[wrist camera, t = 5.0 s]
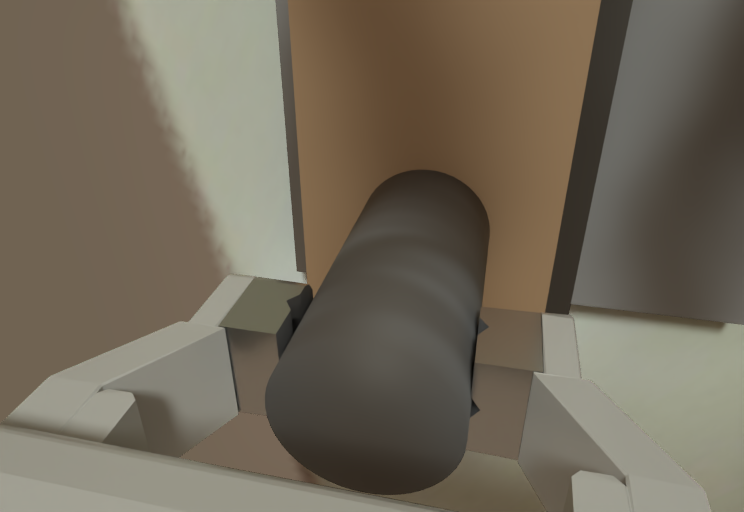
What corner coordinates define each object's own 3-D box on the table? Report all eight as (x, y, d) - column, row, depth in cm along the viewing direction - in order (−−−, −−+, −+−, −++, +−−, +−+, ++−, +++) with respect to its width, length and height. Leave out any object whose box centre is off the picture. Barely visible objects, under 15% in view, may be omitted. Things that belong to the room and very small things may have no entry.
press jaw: (605, -70, 17) (814, -38, 5) (544, 283, 23) (567, 692, 11) (374, -70, 18) (72, -46, 6) (374, 264, 24) (224, 609, 12)
